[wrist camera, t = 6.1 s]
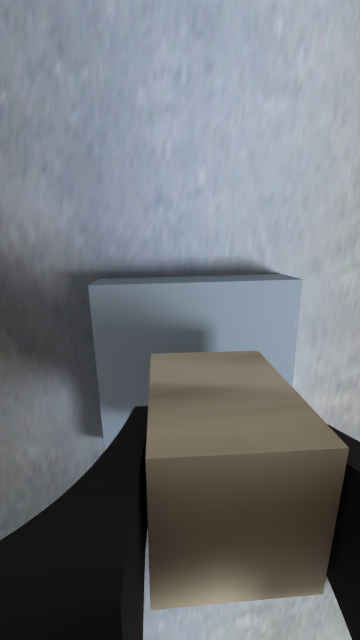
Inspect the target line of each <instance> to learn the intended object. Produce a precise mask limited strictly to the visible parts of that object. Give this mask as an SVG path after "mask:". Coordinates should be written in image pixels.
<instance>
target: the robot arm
mask: <svg viewBox="0 0 360 640" xmlns="http://www.w3.org/2000/svg"><path fill="white" fill-rule="evenodd" d="M147 422H148V406H135V407H134V408H133V409H132V412H131V413H130V415H129V417H128V419H127V420H126V422H125V424H124V425H123V427H122V428H121V430H120V431H119V433H118V434H117V436H116V437H115V438H114V440H113V441H112V443H111V444H110V445H109V446H108V448H107V449H106V450H105V451H104V453H103V454H102V455H101V456H100V458H99V459H98V460H97V461H96V462H95V463H94V465H93V466H92V467H91V468H90V469H89V470H88V471H87V472H86V473H85V474H84V475H83V476H82V477H81V478H80V479H79V480H78V481H77V482H76V483H75V484H74V485H73V486H72V487H71V488H70V489H68V490H67V491H66V492H65V493H64V494H63V495H62V496H61V497H59V498H58V499H57V500H56V501H55V502H53V503H52V504H51V505H50V506H48V507H47V508H46V509H45V510H43V511H42V512H41V513H39V514H38V515H37V516H35V517H34V518H33V519H31V520H30V521H28V522H27V523H26V524H24V525H23V526H21V527H20V528H19V529H17V530H16V531H14V532H13V533H11V534H9V535H8V536H6V537H5V538H3V539H2V540H0V640H143V610H144V572H145V550H146V538H147V529H148V514H147V485H146V441H147ZM327 425H328V424H327ZM328 426H329V427H330V428H331V429H332V430H333V431H334V432H335V433H336V435H337V436H338V437H339V438H340V439H341V440H342V441H343V442H344V443H345V444H346V445H347V446H348V447H349V452H348V457H347V463H346V468H345V474H344V479H343V485H342V491H341V496H340V502H339V507H338V513H337V518H336V524H335V529H334V535H333V541H332V546H331V552H330V557H329V563H328V568H327V574H326V575H327V577H328V579H329V582H330V584H331V587H332V589H333V592H334V594H335V597H336V599H337V602H338V604H339V607H340V609H341V612H342V614H343V617H344V619H345V622H346V625H347V627H348V630H349V633H350V635H351V638H352V640H360V442H359V441H357V440H355V439H353V438H351V437H350V436H348V435H346V434H344V433H342V432H340V431H338V430H337V429H335V428H333V427H331V426H330V425H328Z"/></svg>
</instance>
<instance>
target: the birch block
mask: <svg viewBox="0 0 360 640" xmlns="http://www.w3.org/2000/svg"><path fill="white" fill-rule="evenodd" d="M348 452H349V447H348V446H347V445H346V444H345V443H344V442H343V441H342V440H341V439H340V438H339V437H338V436H337V435H336V433H335V432H334V431H333V430H332V429H331V428H330V427H329V426H328V425H327V424H326V423H325V422H324V421H323V420H322V418H321V417H320V416H319V415H318V414H317V413H316V412H315V411H314V410H313V409H312V408H311V407H310V406H309V405H308V404H307V402H306V401H305V400H304V399H303V398H302V397H301V396H300V395H299V394H298V393H297V392H296V391H295V390H294V389H293V387H292V386H291V385H290V384H289V383H288V382H287V381H286V380H285V379H284V378H283V377H282V376H281V375H280V374H279V372H278V371H277V370H276V369H275V368H274V367H273V366H272V365H271V364H270V363H269V362H268V361H267V360H266V359H265V358H264V356H263V355H262V354H261V353H260V352H259V351H229V352H192V353H155V354H151V362H150V382H149V402H148V422H147V441H146V485H147V514H148V543H149V573H150V602H151V610H156V609H167V608H177V607H188V606H199V605H209V604H220V603H231V602H241V601H252V600H263V599H274V598H284V597H295V596H306V595H316V594H323V591H324V585H325V579H326V574H327V568H328V563H329V557H330V552H331V546H332V541H333V535H334V529H335V524H336V518H337V513H338V507H339V502H340V496H341V491H342V485H343V479H344V474H345V468H346V463H347V457H348Z"/></svg>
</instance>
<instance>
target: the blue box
mask: <svg viewBox="0 0 360 640" xmlns="http://www.w3.org/2000/svg"><path fill="white" fill-rule="evenodd" d="M301 288H302V279H299V278H295V277H291V276H287V275H283V274H251V275H213V276H174V277H136V278H99V279H97V280H96V281H94V282H93V283H91V284H90V285H88V291H89V301H90V311H91V321H92V331H93V341H94V351H95V361H96V371H97V380H98V390H99V400H100V410H101V420H102V430H103V440H104V450H106V449H107V448H108V446H109V445H110V444H111V443H112V441H113V440H114V438H115V437H116V436H117V434H118V433H119V431H120V430H121V428H122V427H123V425H124V424H125V422H126V420H127V419H128V417H129V415H130V413H131V412H132V409H133V408H134V407H135V406H148V402H149V382H150V362H151V354H155V353H192V352H229V351H259V352H260V353H261V354H262V355H263V356H264V358H265V359H266V360H267V361H268V362H269V363H270V364H271V365H272V366H273V367H274V368H275V369H276V370H277V371H278V372H279V374H280V375H281V376H282V377H283V378H284V379H285V380H286V381H287V382H288V383H289V384H290V385H291V386H292V384H293V373H294V363H295V352H296V341H297V330H298V320H299V309H300V298H301Z"/></svg>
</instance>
